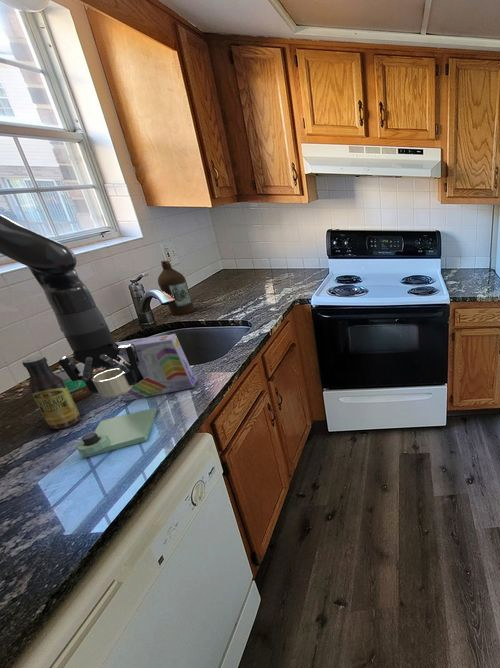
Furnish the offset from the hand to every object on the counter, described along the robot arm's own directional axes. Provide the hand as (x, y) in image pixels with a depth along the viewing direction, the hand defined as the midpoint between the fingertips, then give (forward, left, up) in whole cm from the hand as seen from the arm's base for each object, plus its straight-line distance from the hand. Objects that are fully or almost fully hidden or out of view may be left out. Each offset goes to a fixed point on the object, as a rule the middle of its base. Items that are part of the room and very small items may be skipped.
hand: (115, 387), depth 92 cm
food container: (-19, +27, -13) cm, 35 cm away
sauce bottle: (-17, +12, -13) cm, 24 cm away
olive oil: (0, +100, -13) cm, 100 cm away
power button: (-6, -7, -10) cm, 13 cm away
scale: (-2, -1, -13) cm, 13 cm away
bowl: (0, 0, -1) cm, 1 cm away
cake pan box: (+3, +18, -13) cm, 22 cm away
